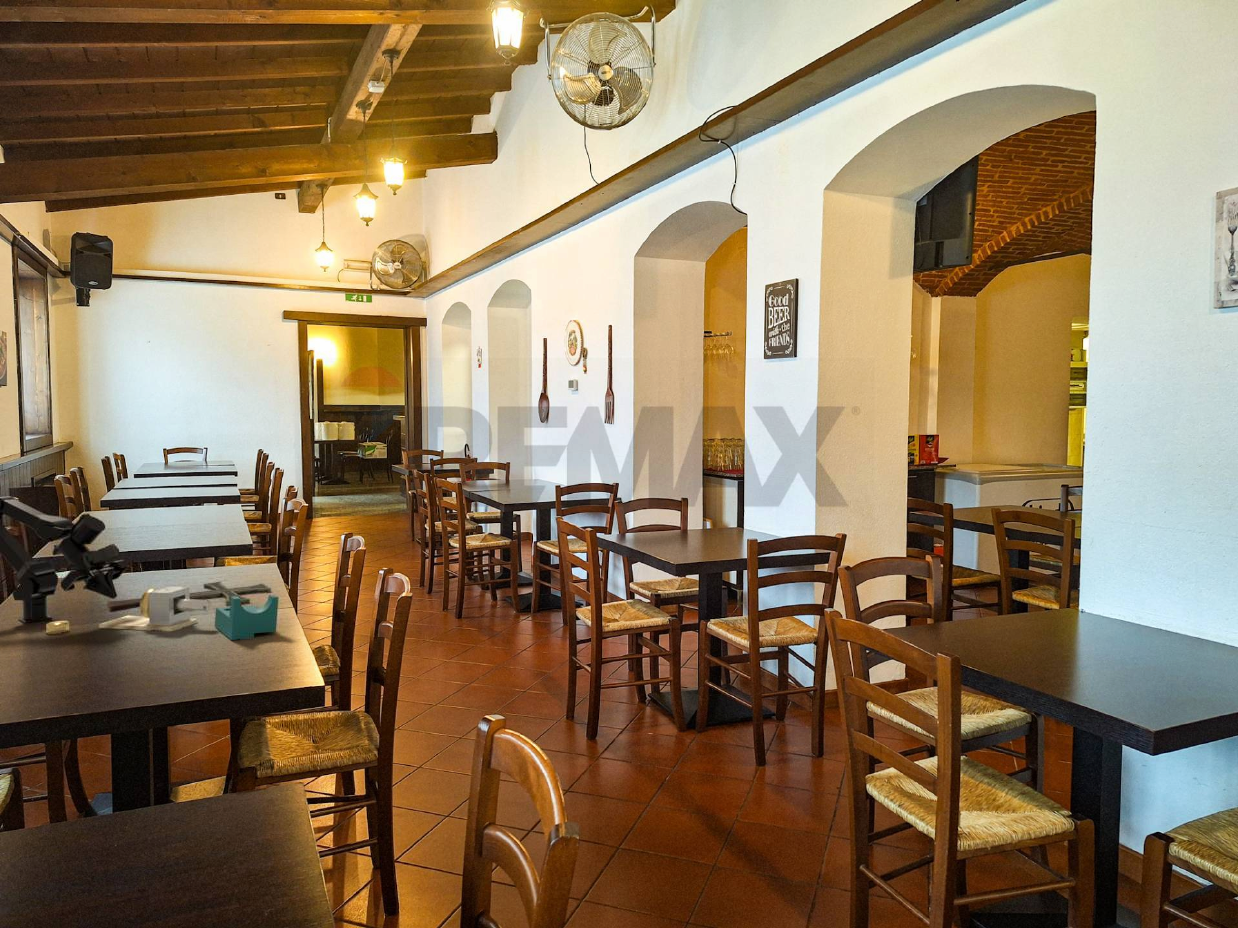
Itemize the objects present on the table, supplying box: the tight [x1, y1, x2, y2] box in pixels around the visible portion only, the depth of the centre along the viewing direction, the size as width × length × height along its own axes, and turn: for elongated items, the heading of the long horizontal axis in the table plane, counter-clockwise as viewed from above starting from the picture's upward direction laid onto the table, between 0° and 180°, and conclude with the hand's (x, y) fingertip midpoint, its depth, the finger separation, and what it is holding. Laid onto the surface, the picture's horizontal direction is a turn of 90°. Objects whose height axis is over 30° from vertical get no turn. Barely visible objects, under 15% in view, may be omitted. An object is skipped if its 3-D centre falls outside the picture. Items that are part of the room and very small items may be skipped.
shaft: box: [139, 588, 211, 618], centre depth 227 cm, size 17×8×8 cm, turn 80°
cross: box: [106, 580, 272, 612], centre depth 262 cm, size 35×2×45 cm
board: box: [98, 615, 198, 632], centre depth 229 cm, size 22×10×1 cm, turn 80°
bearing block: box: [149, 586, 191, 627], centre depth 227 cm, size 6×8×9 cm
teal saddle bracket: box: [214, 594, 280, 641], centre depth 223 cm, size 18×11×10 cm, turn 38°
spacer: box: [45, 620, 70, 635], centre depth 222 cm, size 5×5×2 cm
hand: (115, 597), depth 230 cm, fingers closed
